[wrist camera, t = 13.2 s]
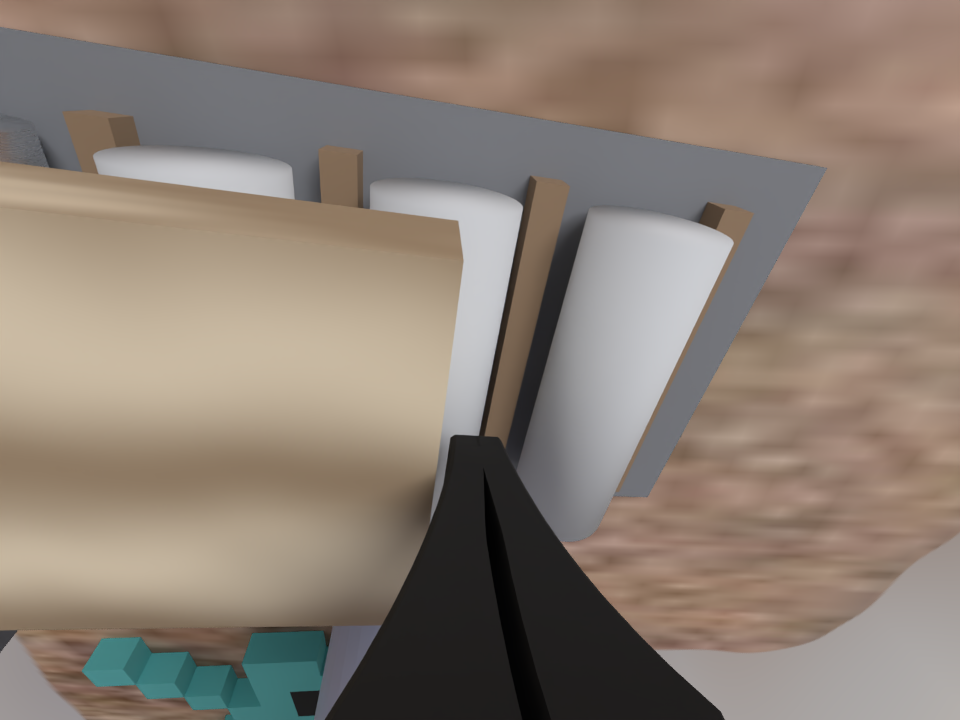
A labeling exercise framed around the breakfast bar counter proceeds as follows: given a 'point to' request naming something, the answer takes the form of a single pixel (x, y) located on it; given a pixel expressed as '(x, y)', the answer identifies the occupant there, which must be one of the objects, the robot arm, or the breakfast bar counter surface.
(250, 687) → the alien figure
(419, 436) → the slab
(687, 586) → the breakfast bar counter surface
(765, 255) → the roller bed
